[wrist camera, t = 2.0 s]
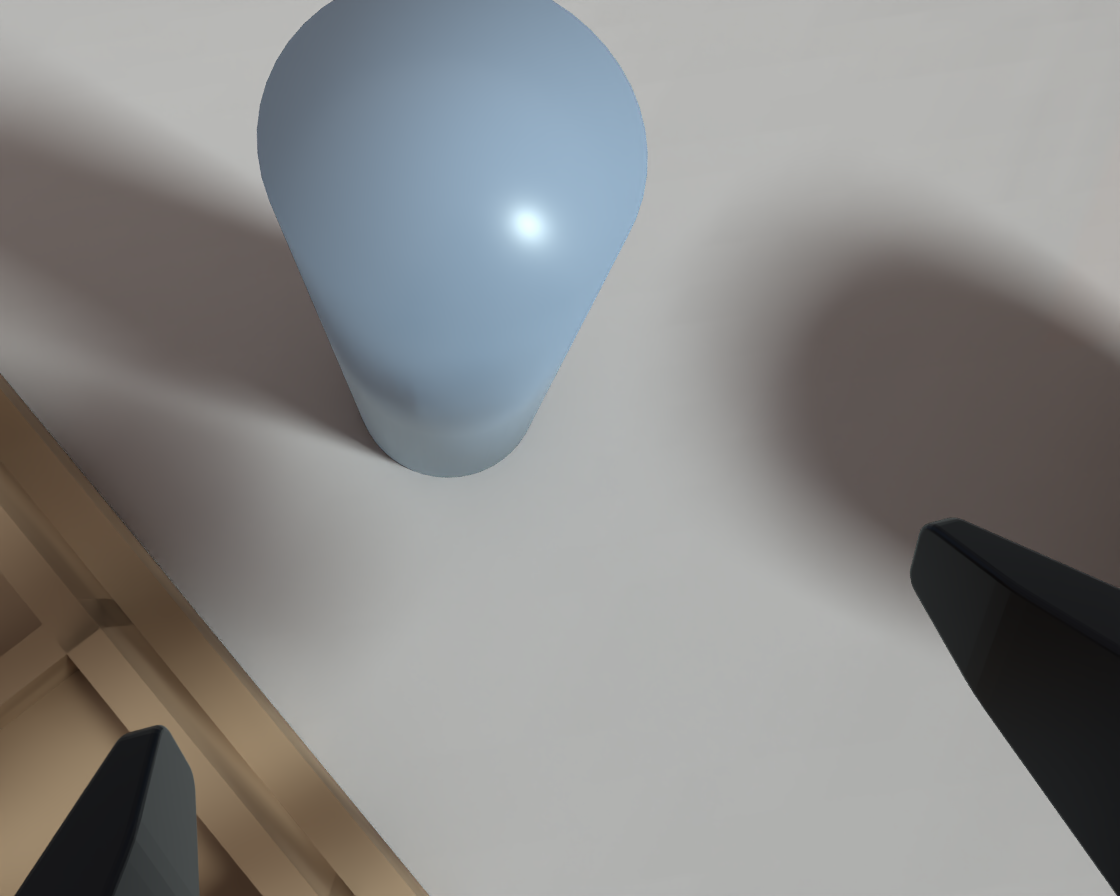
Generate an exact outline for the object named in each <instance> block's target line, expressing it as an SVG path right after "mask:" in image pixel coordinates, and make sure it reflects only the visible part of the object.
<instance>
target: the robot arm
mask: <svg viewBox="0 0 1120 896" xmlns="http://www.w3.org/2000/svg"><path fill="white" fill-rule="evenodd" d="M910 578H911V583H912V586H913V588H914V590H915V592H916V594H917V596H918V598H919V599H920V601H921V603H922V605H923V606H924V608H925V610H926V612H927V613H928V615H929V617H930V619H931V621H932V622H933V624H934V626H935V628H936V629H937V631H938V633H939V635H940V636H941V638H942V640H943V642H944V643H945V645H946V647H947V649H948V650H949V652H950V654H951V656H952V657H953V659H954V661H955V663H956V664H957V666H958V668H959V670H960V671H961V673H962V675H963V677H964V678H965V680H966V682H967V683H968V685H969V687H970V688H971V690H972V691H973V693H974V695H975V696H976V697H977V699H978V700H979V702H980V703H981V705H982V706H983V708H984V709H985V711H986V712H987V714H988V715H989V716H990V718H991V719H992V721H993V722H994V723H995V725H996V726H997V728H998V729H999V730H1000V732H1001V733H1002V735H1003V736H1004V737H1005V739H1006V740H1007V742H1008V743H1009V744H1010V746H1011V747H1012V749H1013V750H1014V752H1015V753H1016V754H1017V756H1018V757H1019V759H1020V760H1021V761H1022V763H1023V764H1024V766H1025V767H1026V768H1027V770H1028V771H1029V773H1030V774H1031V775H1032V777H1033V778H1034V780H1035V781H1036V782H1037V784H1038V785H1039V787H1040V788H1041V789H1042V791H1043V792H1044V794H1045V795H1046V796H1047V798H1048V799H1049V801H1050V802H1051V803H1052V805H1053V806H1054V808H1055V809H1056V810H1057V812H1058V813H1059V815H1060V816H1061V818H1062V819H1063V820H1064V822H1065V823H1066V825H1067V826H1068V827H1069V829H1070V830H1071V832H1072V833H1073V834H1074V836H1075V837H1076V839H1077V840H1078V841H1079V843H1080V844H1081V846H1082V847H1083V848H1084V850H1085V851H1086V853H1087V854H1088V855H1089V857H1090V858H1091V860H1092V861H1093V862H1094V864H1095V865H1096V867H1097V868H1098V869H1099V871H1100V872H1101V874H1102V875H1103V876H1104V878H1105V879H1106V881H1107V882H1108V884H1109V885H1110V886H1111V888H1112V889H1113V891H1114V892H1115V893H1116V895H1117V896H1120V589H1119V588H1117V587H1115V586H1113V585H1110V584H1108V583H1106V582H1103V581H1101V580H1099V579H1097V578H1094V577H1092V576H1090V575H1088V574H1085V573H1083V572H1081V571H1078V570H1076V569H1074V568H1072V567H1069V566H1067V565H1065V564H1062V563H1060V562H1058V561H1056V560H1053V559H1051V558H1049V557H1047V556H1044V555H1042V554H1040V553H1037V552H1035V551H1033V550H1031V549H1028V548H1026V547H1024V546H1021V545H1019V544H1017V543H1015V542H1012V541H1010V540H1008V539H1006V538H1003V537H1001V536H999V535H996V534H994V533H992V532H990V531H987V530H985V529H983V528H980V527H978V526H976V525H974V524H971V523H969V522H967V521H965V520H962V519H959V518H947V519H943V520H939V521H935V522H931V523H928V524H926V525H924V526H923V528H922V529H921V530H920V533H919V537H918V541H917V544H916V548H915V552H914V556H913V560H912V564H911V569H910ZM14 896H200V895H199V869H198V844H197V818H196V793H195V782H194V777H193V773H192V770H191V768H190V766H189V764H188V762H187V760H186V759H185V757H184V755H183V753H182V752H181V750H180V748H179V747H178V745H177V743H176V741H175V740H174V738H173V736H172V735H171V733H170V731H169V730H168V729H167V728H166V727H165V726H163V725H155V726H151V727H147V728H143V729H139V730H136V731H132V732H128V733H126V734H124V735H123V736H121V737H120V738H119V739H118V740H117V742H116V743H115V744H114V746H113V747H112V749H111V750H110V752H109V753H108V755H107V756H106V758H105V759H104V761H103V762H102V764H101V765H100V767H99V768H98V770H97V771H96V773H95V775H94V776H93V778H92V779H91V781H90V782H89V784H88V785H87V787H86V788H85V790H84V791H83V793H82V794H81V796H80V797H79V799H78V800H77V802H76V803H75V805H74V806H73V808H72V809H71V811H70V812H69V814H68V815H67V817H66V818H65V820H64V821H63V823H62V824H61V826H60V827H59V829H58V830H57V832H56V833H55V835H54V836H53V838H52V839H51V841H50V842H49V844H48V845H47V847H46V849H45V850H44V852H43V853H42V855H41V856H40V858H39V859H38V861H37V862H36V864H35V865H34V867H33V868H32V870H31V871H30V873H29V874H28V876H27V877H26V879H25V880H24V882H23V883H22V885H21V886H20V888H19V889H18V891H17V892H16V894H15V895H14Z"/></svg>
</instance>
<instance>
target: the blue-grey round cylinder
mask: <svg viewBox="0 0 1120 896" xmlns="http://www.w3.org/2000/svg"><path fill="white" fill-rule="evenodd" d="M257 149H258V159H259V164H260V170H261V176H262V180H263V183H264V186H265V189H266V192H267V195H268V198H269V201H270V204H271V206H272V208H273V211H274V213H275V215H276V218H277V220H278V222H279V225H280V227H281V229H282V232H283V234H284V236H285V239H286V241H287V243H288V246H289V248H290V250H291V253H292V255H293V257H294V260H295V262H296V264H297V267H298V269H299V271H300V274H301V276H302V278H303V281H304V283H305V286H306V288H307V290H308V293H309V295H310V297H311V300H312V302H313V304H314V307H315V309H316V311H317V314H318V316H319V318H320V321H321V323H322V325H323V328H324V330H325V332H326V335H327V337H328V339H329V342H330V344H331V346H332V349H333V351H334V353H335V356H336V358H337V360H338V363H339V365H340V367H341V370H342V372H343V375H344V377H345V379H346V382H347V384H348V386H349V389H350V391H351V393H352V396H353V398H354V400H355V403H356V405H357V407H358V410H359V412H360V414H361V417H362V419H363V421H364V423H365V425H366V428H367V430H368V432H369V433H370V435H371V436H372V438H373V439H374V441H375V442H376V443H377V445H378V446H379V447H380V448H381V449H382V450H383V451H384V452H385V453H386V454H387V455H388V456H390V457H391V458H392V459H393V460H395V461H396V462H398V463H399V464H401V465H402V466H405V467H407V468H409V469H411V470H413V471H416V472H419V473H422V474H425V475H430V476H435V477H461V476H466V475H471V474H475V473H478V472H481V471H483V470H485V469H487V468H489V467H492V466H493V465H495V464H497V463H498V462H500V461H501V460H503V459H504V458H505V457H506V456H507V455H508V454H510V453H511V452H512V451H513V450H514V448H515V447H516V446H517V445H518V444H519V443H520V441H521V440H522V438H523V437H524V435H525V434H526V432H527V430H528V428H529V426H530V424H531V422H532V420H533V418H534V416H535V414H536V412H537V411H538V409H539V407H540V405H541V403H542V401H543V399H544V397H545V395H546V393H547V391H548V389H549V387H550V385H551V383H552V381H553V380H554V378H555V376H556V374H557V372H558V370H559V368H560V366H561V364H562V362H563V360H564V358H565V356H566V354H567V352H568V351H569V349H570V347H571V345H572V343H573V341H574V339H575V337H576V335H577V333H578V331H579V329H580V327H581V325H582V323H583V321H584V320H585V318H586V316H587V314H588V312H589V310H590V308H591V306H592V304H593V302H594V300H595V298H596V296H597V294H598V292H599V291H600V289H601V287H602V285H603V283H604V281H605V279H606V277H607V275H608V273H609V271H610V269H611V267H612V265H613V263H614V261H615V260H616V258H617V256H618V254H619V252H620V250H621V248H622V246H623V244H624V242H625V240H626V238H627V236H628V234H629V232H630V230H631V228H632V226H633V224H634V222H635V220H636V217H637V214H638V211H639V208H640V205H641V202H642V199H643V194H644V189H645V183H646V177H647V154H648V152H647V143H646V134H645V127H644V123H643V119H642V115H641V111H640V107H639V105H638V102H637V100H636V97H635V95H634V92H633V90H632V87H631V85H630V83H629V81H628V80H627V78H626V76H625V74H624V72H623V70H622V69H621V67H620V65H619V64H618V62H617V61H616V60H615V58H614V57H613V55H612V54H611V53H610V51H609V50H608V49H607V47H606V46H605V45H604V44H603V43H602V42H601V41H600V39H599V38H598V37H597V36H596V35H595V34H594V33H593V32H592V31H591V30H590V29H589V28H588V27H587V26H586V25H585V24H583V23H582V22H581V21H580V20H579V19H578V18H576V17H575V16H574V15H573V14H572V13H570V12H569V11H567V10H566V9H564V8H563V7H561V6H560V5H558V4H557V3H555V2H554V1H552V0H333V1H332V2H330V3H329V4H327V5H326V6H324V7H323V8H321V9H320V10H319V11H318V12H317V13H316V14H315V15H313V16H312V17H311V18H310V19H309V20H308V21H307V22H305V23H304V24H303V26H302V27H301V28H300V29H299V30H298V31H297V32H296V34H295V35H294V36H293V37H292V38H291V39H290V41H289V42H288V43H287V45H286V46H285V48H284V50H283V51H282V53H281V54H280V56H279V57H278V59H277V61H276V63H275V65H274V67H273V69H272V71H271V74H270V76H269V78H268V80H267V82H266V86H265V89H264V93H263V97H262V100H261V104H260V109H259V117H258V125H257Z"/></svg>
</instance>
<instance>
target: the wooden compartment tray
mask: <svg viewBox="0 0 1120 896" xmlns="http://www.w3.org/2000/svg"><path fill="white" fill-rule="evenodd" d="M155 725H163V726H165V727H166V728H167V729H168V730H169V731H170V733H171V735H172V736H173V738H174V740H175V741H176V743H177V745H178V747H179V748H180V750H181V752H182V753H183V755H184V757H185V759H186V760H187V762H188V764H189V766H190V768H191V770H192V773H193V777H194V782H195V793H196V818H197V844H198V869H199V895H200V896H429V895H428V894H427V892H426V891H425V890H424V889H423V888H422V886H421V885H420V884H419V883H418V881H417V880H416V879H415V878H414V877H413V875H412V874H411V873H410V872H409V870H408V869H407V868H406V867H405V866H404V864H403V863H402V862H401V861H400V859H399V858H398V857H397V856H396V855H395V853H394V852H393V851H392V850H391V849H390V847H389V846H388V845H387V844H386V842H385V841H384V840H383V839H382V838H381V836H380V835H379V834H378V833H377V831H376V830H375V829H374V828H373V827H372V825H371V824H370V823H369V822H368V821H367V819H366V818H365V817H364V816H363V814H362V813H361V812H360V811H359V810H358V808H357V807H356V806H355V805H354V803H353V802H352V801H351V800H350V799H349V797H348V796H347V795H346V794H345V793H344V791H343V790H342V789H341V788H340V786H339V785H338V784H337V783H336V782H335V780H334V779H333V778H332V777H331V775H330V774H329V773H328V772H327V771H326V769H325V768H324V767H323V766H322V765H321V763H320V762H319V761H318V760H317V758H316V757H315V756H314V755H313V754H312V752H311V751H310V750H309V749H308V747H307V746H306V745H305V744H304V743H303V741H302V740H301V739H300V738H299V737H298V735H297V734H296V733H295V732H294V730H293V729H292V728H291V727H290V726H289V724H288V723H287V722H286V721H285V719H284V718H283V717H282V716H281V715H280V713H279V712H278V711H277V710H276V709H275V707H274V706H273V705H272V704H271V702H270V701H269V700H268V699H267V698H266V696H265V695H264V694H263V693H262V691H261V690H260V689H259V688H258V687H257V685H256V684H255V683H254V682H253V681H252V679H251V678H250V677H249V676H248V674H247V673H246V672H245V671H244V670H243V668H242V667H241V666H240V665H239V663H238V662H237V661H236V660H235V659H234V657H233V656H232V655H231V654H230V653H229V651H228V650H227V649H226V648H225V646H224V645H223V644H222V643H221V642H220V640H219V639H218V638H217V637H216V635H215V634H214V633H213V632H212V631H211V629H210V628H209V627H208V626H207V625H206V623H205V622H204V621H203V620H202V618H201V617H200V616H199V615H198V614H197V612H196V611H195V610H194V609H193V607H192V606H191V605H190V604H189V603H188V601H187V600H186V599H185V598H184V597H183V595H182V594H181V593H180V592H179V590H178V589H177V588H176V587H175V586H174V584H173V583H172V582H171V581H170V579H169V578H168V577H167V576H166V575H165V573H164V572H163V571H162V570H161V569H160V567H159V566H158V565H157V564H156V562H155V561H154V560H153V559H152V558H151V556H150V555H149V554H148V553H147V551H146V550H145V549H144V548H143V547H142V545H141V544H140V543H139V542H138V540H137V539H136V538H135V537H134V536H133V534H132V533H131V532H130V531H129V530H128V528H127V527H126V526H125V525H124V523H123V522H122V521H121V520H120V519H119V517H118V516H117V515H116V514H115V512H114V511H113V510H112V509H111V508H110V506H109V505H108V504H107V503H106V502H105V500H104V499H103V498H102V497H101V495H100V494H99V493H98V492H97V491H96V489H95V488H94V487H93V486H92V484H91V483H90V482H89V481H88V480H87V478H86V477H85V476H84V475H83V474H82V472H81V471H80V470H79V469H78V467H77V466H76V465H75V464H74V463H73V461H72V460H71V459H70V458H69V456H68V455H67V454H66V453H65V452H64V450H63V449H62V448H61V447H60V446H59V444H58V443H57V442H56V441H55V439H54V438H53V437H52V436H51V435H50V433H49V432H48V431H47V430H46V428H45V427H44V426H43V425H42V424H41V422H40V421H39V420H38V419H37V418H36V416H35V415H34V414H33V413H32V411H31V410H30V409H29V408H28V407H27V405H26V404H25V403H24V402H23V400H22V399H21V398H20V397H19V396H18V394H17V393H16V392H15V391H14V390H13V388H12V387H11V386H10V385H9V383H8V382H7V381H6V380H5V379H4V377H3V376H2V375H1V374H0V896H14V895H15V894H16V892H17V891H18V889H19V888H20V886H21V885H22V883H23V882H24V880H25V879H26V877H27V876H28V874H29V873H30V871H31V870H32V868H33V867H34V865H35V864H36V862H37V861H38V859H39V858H40V856H41V855H42V853H43V852H44V850H45V849H46V847H47V845H48V844H49V842H50V841H51V839H52V838H53V836H54V835H55V833H56V832H57V830H58V829H59V827H60V826H61V824H62V823H63V821H64V820H65V818H66V817H67V815H68V814H69V812H70V811H71V809H72V808H73V806H74V805H75V803H76V802H77V800H78V799H79V797H80V796H81V794H82V793H83V791H84V790H85V788H86V787H87V785H88V784H89V782H90V781H91V779H92V778H93V776H94V775H95V773H96V771H97V770H98V768H99V767H100V765H101V764H102V762H103V761H104V759H105V758H106V756H107V755H108V753H109V752H110V750H111V749H112V747H113V746H114V744H115V743H116V742H117V740H118V739H119V738H120V737H121V736H123V735H124V734H126V733H128V732H132V731H136V730H139V729H143V728H147V727H151V726H155Z"/></svg>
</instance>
